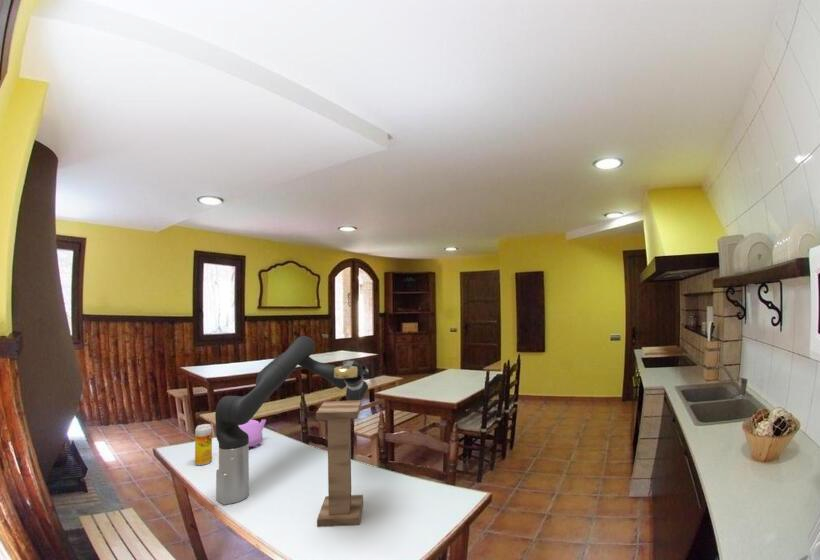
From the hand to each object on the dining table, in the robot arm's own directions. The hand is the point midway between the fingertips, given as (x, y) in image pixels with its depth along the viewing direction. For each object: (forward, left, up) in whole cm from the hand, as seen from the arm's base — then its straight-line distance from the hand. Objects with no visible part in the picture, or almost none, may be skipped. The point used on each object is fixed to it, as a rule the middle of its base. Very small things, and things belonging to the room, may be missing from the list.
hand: (349, 362), depth 153 cm
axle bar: (-3, -3, -3) cm, 5 cm away
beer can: (-31, +57, -42) cm, 77 cm away
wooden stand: (-19, -19, -41) cm, 50 cm away
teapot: (-11, +62, -42) cm, 75 cm away
